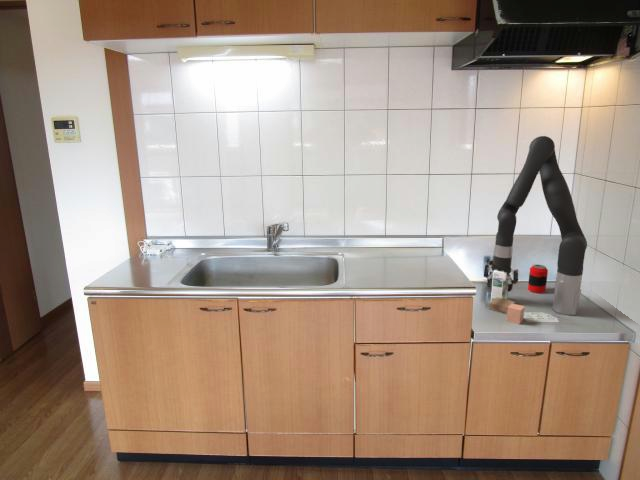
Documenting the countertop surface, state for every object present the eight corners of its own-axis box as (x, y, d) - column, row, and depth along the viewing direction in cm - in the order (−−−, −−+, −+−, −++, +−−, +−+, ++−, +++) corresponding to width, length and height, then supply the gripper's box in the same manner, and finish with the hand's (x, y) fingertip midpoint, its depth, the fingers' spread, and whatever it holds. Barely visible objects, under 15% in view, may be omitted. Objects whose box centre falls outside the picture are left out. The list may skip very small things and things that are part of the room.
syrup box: (490, 301, 201) (492, 270, 197) (494, 297, 205) (496, 267, 202) (503, 304, 198) (506, 273, 194) (507, 299, 202) (510, 269, 198)
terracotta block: (523, 319, 183) (524, 306, 181) (519, 324, 179) (520, 310, 177) (510, 316, 186) (511, 303, 184) (506, 320, 182) (507, 307, 180)
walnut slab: (514, 308, 194) (514, 301, 193) (508, 314, 188) (508, 307, 187) (495, 303, 199) (496, 297, 198) (488, 309, 193) (489, 303, 192)
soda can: (542, 287, 215) (544, 264, 212) (547, 293, 208) (550, 269, 205) (525, 287, 216) (528, 263, 213) (530, 293, 209) (533, 269, 206)
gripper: (522, 255, 194) (518, 290, 199) (489, 249, 203) (486, 282, 207) (516, 259, 189) (512, 295, 193) (483, 253, 198) (480, 287, 202)
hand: (499, 288), depth 200 cm, fingers open, 8 cm apart
